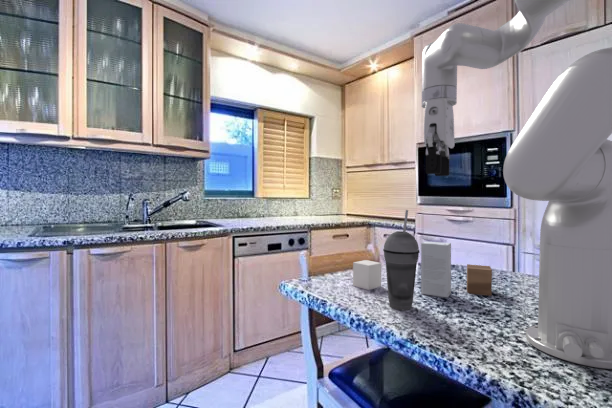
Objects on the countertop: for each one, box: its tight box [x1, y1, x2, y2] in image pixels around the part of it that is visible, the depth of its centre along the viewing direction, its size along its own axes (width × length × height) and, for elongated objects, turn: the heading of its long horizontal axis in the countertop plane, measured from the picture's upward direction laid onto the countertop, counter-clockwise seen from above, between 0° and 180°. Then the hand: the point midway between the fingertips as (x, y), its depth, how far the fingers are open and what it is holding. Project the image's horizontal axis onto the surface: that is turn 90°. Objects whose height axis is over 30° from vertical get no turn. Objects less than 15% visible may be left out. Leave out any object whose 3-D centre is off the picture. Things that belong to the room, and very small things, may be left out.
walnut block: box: [466, 264, 493, 297], centre depth 79 cm, size 5×5×6 cm
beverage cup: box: [383, 209, 421, 311], centre depth 68 cm, size 7×7×20 cm
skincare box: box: [420, 241, 452, 299], centre depth 77 cm, size 6×4×12 cm
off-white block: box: [352, 259, 382, 291], centre depth 83 cm, size 5×5×6 cm
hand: (437, 174), depth 76 cm, fingers open, 7 cm apart
